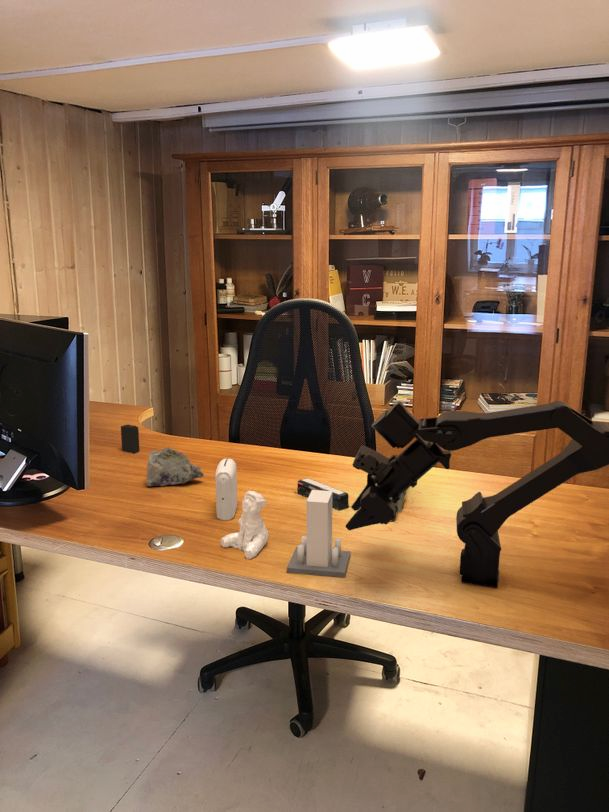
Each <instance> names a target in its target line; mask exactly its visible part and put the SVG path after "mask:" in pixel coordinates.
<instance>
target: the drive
mask: <svg viewBox="0 0 609 812" xmlns="http://www.w3.org/2000/svg"><path fill="white" fill-rule="evenodd" d="M332 493H333V491H322V490H312V491H311V493H310V495H309V497H308V498H307V499H306V501H305V502H306V505H305V506H306V536H307V566H319V567H328V564H329V561H330V558H331V555H332V548H333V508H332Z"/></svg>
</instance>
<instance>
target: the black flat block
mask: <svg viewBox="0 0 609 812" xmlns="http://www.w3.org/2000/svg"><path fill="white" fill-rule="evenodd" d="M296 487H297V492H296V494H298V495H300V496H302V497H304V498H307V499H308V497H309V495H310V493H311V491H312V490H322V491H333V493H332V509H334V510H336V511H339V512H340V511H343V510H346V509H348V508H350V505H349V503H350V502H349V492H345V491H344V490H341V489H338V488H335V487H332V486H330V485H327V484H324V483H322V482H320V481H317V480H314V479H313V478H308V477H306V478H301V479H299V480H297V486H296Z"/></svg>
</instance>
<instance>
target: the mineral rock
mask: <svg viewBox="0 0 609 812" xmlns="http://www.w3.org/2000/svg"><path fill="white" fill-rule="evenodd" d="M204 476H205V473H204V472H202V469H201V468H200V467H199V466H197V465H194V464H193V463H191V461H190V459H189V458H188V456H186V455H185V454H184V453H182V452H179V451H178V450H175V449H173V448H171V447H169V446H167V447H163V448H162V449H161V450H151V451H150V452H149V456H148V460H147V465H146V484H147V486H148V487H156V486H157V487H158V486H160V487H163V486H164V487H165V486H168V485H171V486H174V485H180V484H186V483H187V482H192V481H193V480H195V479H201V478H203V477H204Z"/></svg>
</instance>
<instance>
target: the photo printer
mask: <svg viewBox="0 0 609 812" xmlns="http://www.w3.org/2000/svg"><path fill="white" fill-rule="evenodd" d="M237 468H238V467H237V463H236V462H235V460H234V459H232V458H226V457H225V458H223V459H222V460H220V462H219V463H218V465H217V467H216V470H215V477H214V478H215V480H214V481H215V504H216V505H215V506H216V509H215V510H216V518H217V519H218V520H220V521H230V520H232V519H233V518H234V517H235V514H236V511H237V506H238V475H237Z"/></svg>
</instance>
